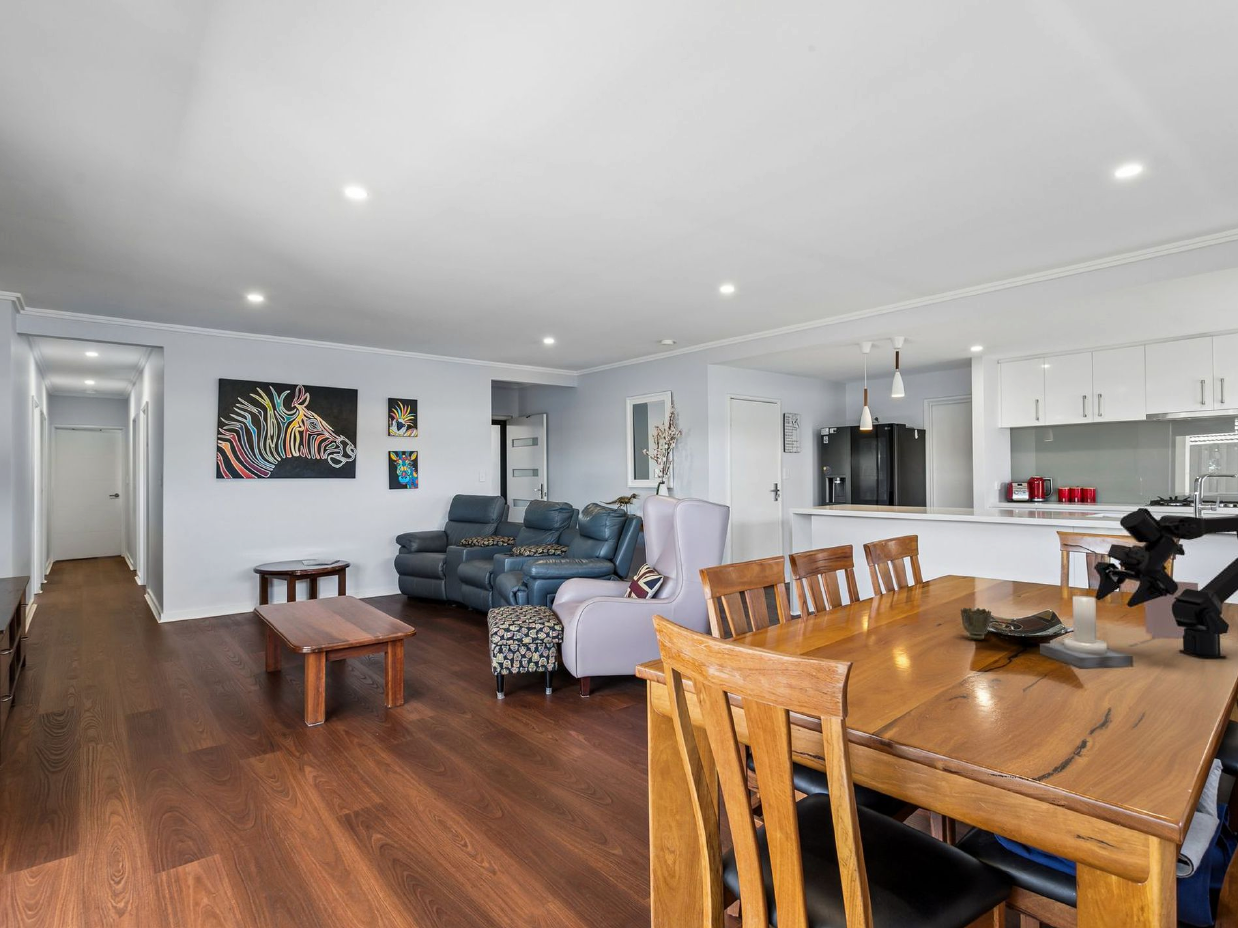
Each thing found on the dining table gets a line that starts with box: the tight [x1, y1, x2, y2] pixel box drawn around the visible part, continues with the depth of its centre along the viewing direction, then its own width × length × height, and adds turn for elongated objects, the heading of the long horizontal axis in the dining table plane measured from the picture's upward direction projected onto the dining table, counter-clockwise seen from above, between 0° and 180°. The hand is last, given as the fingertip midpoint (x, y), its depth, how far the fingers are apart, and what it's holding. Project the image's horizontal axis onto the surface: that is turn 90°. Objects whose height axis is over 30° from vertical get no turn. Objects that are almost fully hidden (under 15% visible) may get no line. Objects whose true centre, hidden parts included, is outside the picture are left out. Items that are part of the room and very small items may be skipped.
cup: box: [960, 607, 992, 641], centre depth 182 cm, size 8×7×8 cm
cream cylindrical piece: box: [1063, 595, 1108, 654], centre depth 161 cm, size 8×8×12 cm
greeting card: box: [1144, 580, 1199, 639], centre depth 182 cm, size 11×7×15 cm, turn 46°
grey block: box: [1039, 642, 1134, 669], centre depth 161 cm, size 13×13×2 cm
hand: (1112, 602), depth 162 cm, fingers open, 9 cm apart
